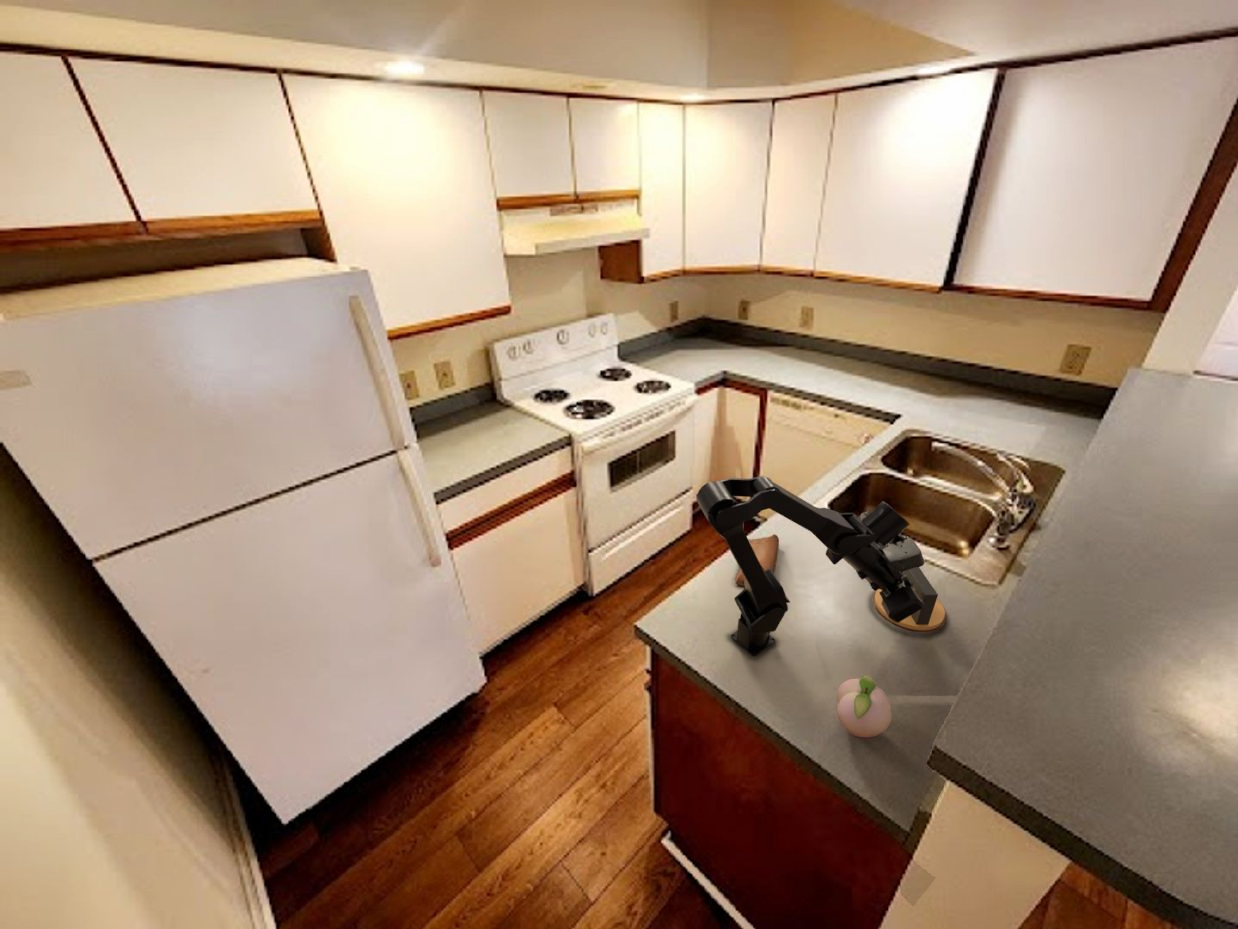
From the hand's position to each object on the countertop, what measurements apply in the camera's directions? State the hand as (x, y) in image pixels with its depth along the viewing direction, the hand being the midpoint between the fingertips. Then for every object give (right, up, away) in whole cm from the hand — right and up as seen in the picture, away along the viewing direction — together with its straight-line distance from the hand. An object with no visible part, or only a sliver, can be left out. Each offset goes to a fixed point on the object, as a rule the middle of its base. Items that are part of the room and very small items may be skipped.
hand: (910, 600), depth 107 cm
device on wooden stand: (+3, -3, +6) cm, 7 cm away
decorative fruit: (-18, -18, -16) cm, 30 cm away
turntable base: (+3, -4, +7) cm, 8 cm away
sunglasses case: (-25, +3, +22) cm, 33 cm away
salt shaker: (+1, +6, +25) cm, 25 cm away
